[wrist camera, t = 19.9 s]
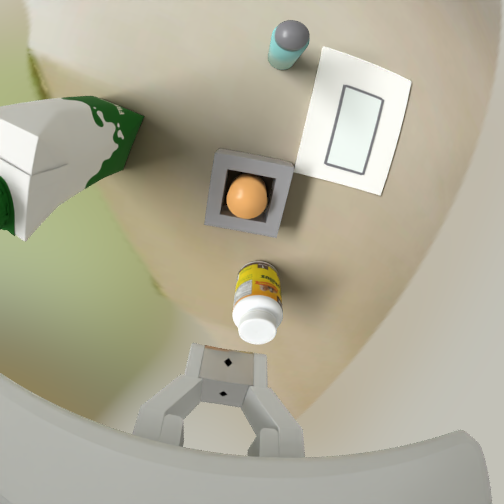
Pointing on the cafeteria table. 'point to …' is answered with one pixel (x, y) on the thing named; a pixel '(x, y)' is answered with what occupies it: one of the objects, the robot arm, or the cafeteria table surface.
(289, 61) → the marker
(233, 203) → the button
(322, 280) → the cafeteria table surface
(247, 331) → the supplement bottle
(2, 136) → the milk carton
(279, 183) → the button housing
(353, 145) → the worksheet
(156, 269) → the cafeteria table surface
